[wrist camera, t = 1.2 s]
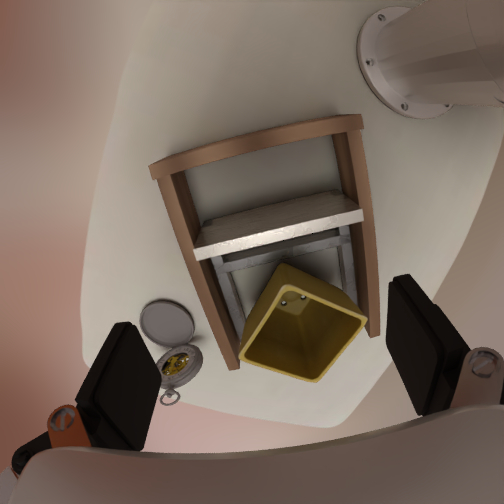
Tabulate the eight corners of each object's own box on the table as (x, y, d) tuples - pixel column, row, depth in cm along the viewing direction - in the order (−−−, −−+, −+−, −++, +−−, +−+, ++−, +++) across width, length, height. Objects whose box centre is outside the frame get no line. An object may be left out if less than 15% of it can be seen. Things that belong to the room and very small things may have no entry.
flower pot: (275, 239, 32) (285, 283, 24) (343, 272, 34) (370, 319, 25) (237, 305, 35) (236, 359, 27) (303, 330, 37) (316, 384, 28)
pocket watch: (154, 289, 34) (127, 345, 25) (217, 322, 36) (210, 385, 27) (130, 334, 37) (105, 390, 27) (187, 363, 39) (176, 423, 29)
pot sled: (337, 189, 29) (362, 208, 23) (353, 311, 35) (372, 349, 29) (203, 221, 31) (192, 249, 24) (243, 338, 36) (242, 380, 30)
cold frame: (339, 114, 27) (361, 114, 21) (366, 310, 36) (383, 340, 30) (166, 156, 28) (148, 165, 23) (230, 342, 37) (228, 377, 32)
